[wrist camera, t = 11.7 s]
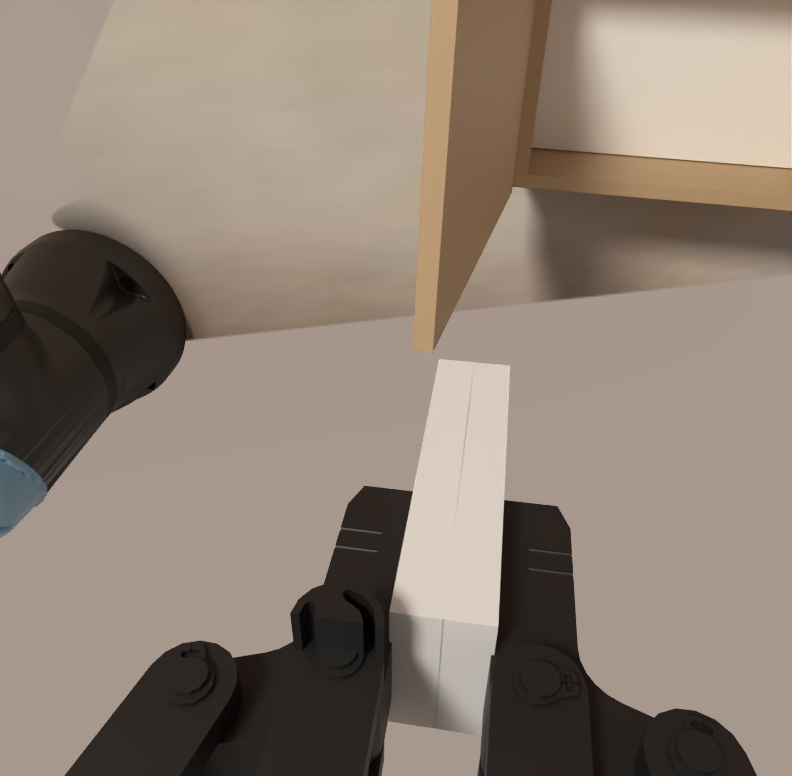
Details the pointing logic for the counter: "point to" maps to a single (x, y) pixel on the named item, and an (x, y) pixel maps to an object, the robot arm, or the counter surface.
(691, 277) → the counter surface
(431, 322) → the mailer lid
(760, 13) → the base
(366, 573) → the robot arm
